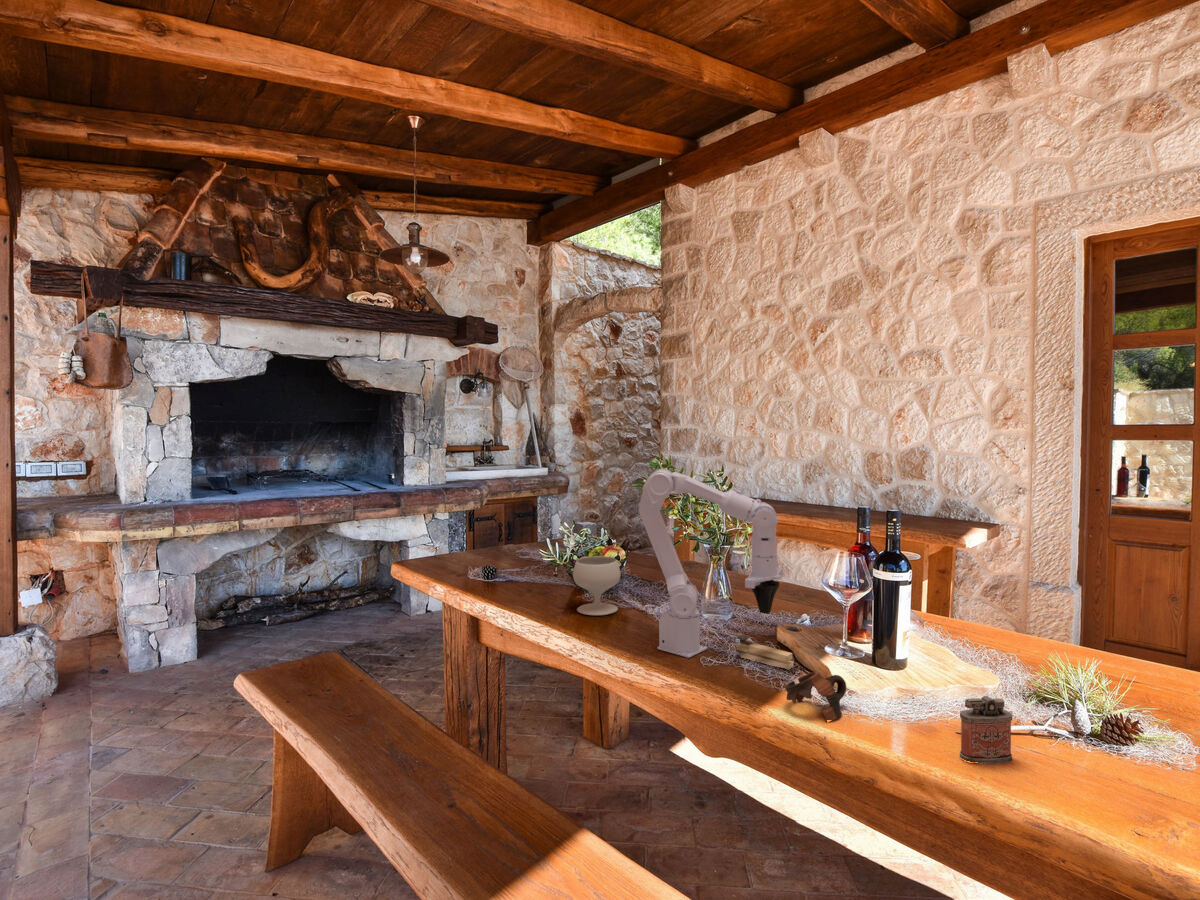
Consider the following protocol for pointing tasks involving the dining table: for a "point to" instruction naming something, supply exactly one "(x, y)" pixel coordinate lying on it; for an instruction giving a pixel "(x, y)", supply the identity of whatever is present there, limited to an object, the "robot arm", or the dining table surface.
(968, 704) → the lighter
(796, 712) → the dining table surface
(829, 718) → the dark brown angled piece
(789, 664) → the tongs base
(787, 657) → the bar
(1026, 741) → the dining table surface
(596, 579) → the chalice
